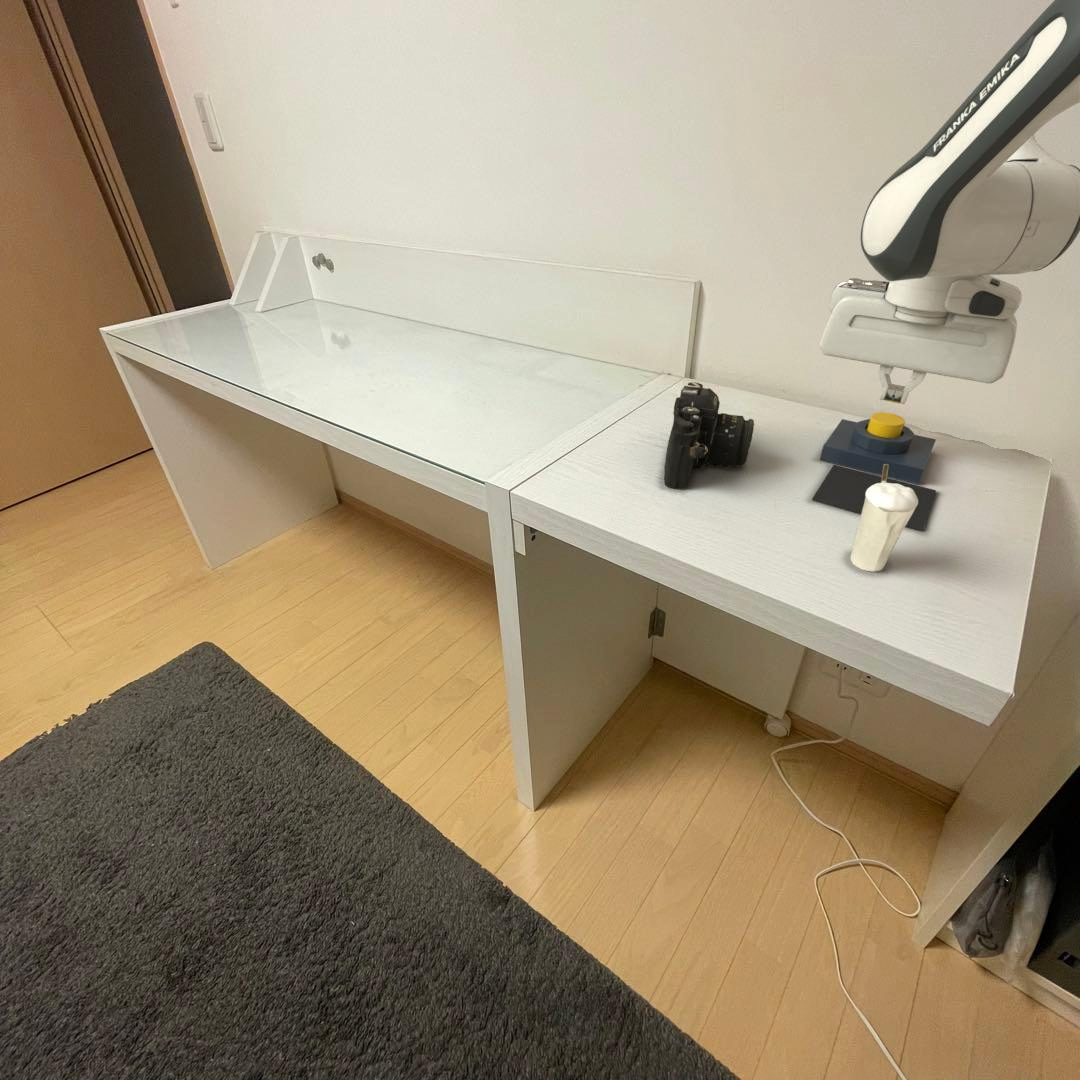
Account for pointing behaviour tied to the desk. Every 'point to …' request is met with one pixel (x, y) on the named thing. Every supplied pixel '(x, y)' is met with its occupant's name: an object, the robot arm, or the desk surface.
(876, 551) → the milkshake
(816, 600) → the desk surface
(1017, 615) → the desk surface
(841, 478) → the mat
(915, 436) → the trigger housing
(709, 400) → the film camera
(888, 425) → the cylinder
